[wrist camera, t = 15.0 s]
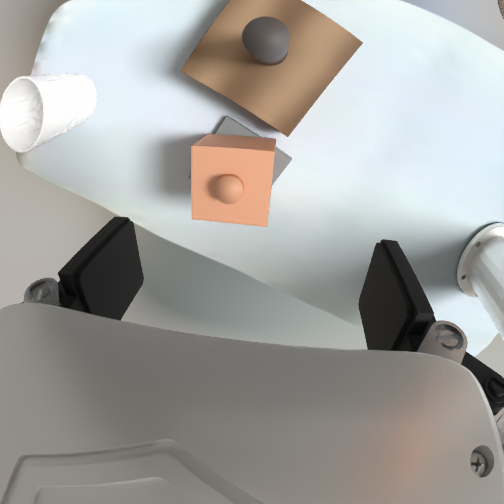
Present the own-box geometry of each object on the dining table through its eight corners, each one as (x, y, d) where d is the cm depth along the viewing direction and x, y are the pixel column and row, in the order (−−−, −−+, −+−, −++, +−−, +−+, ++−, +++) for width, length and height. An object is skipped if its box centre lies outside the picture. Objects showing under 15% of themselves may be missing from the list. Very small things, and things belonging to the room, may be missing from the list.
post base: (355, 46, 22) (393, 29, 13) (287, 132, 28) (289, 157, 19) (254, -16, 20) (239, -61, 10) (189, 72, 26) (143, 69, 16)
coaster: (291, 158, 30) (292, 159, 29) (249, 213, 34) (249, 215, 33) (227, 115, 28) (226, 116, 27) (190, 175, 32) (188, 177, 31)
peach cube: (269, 201, 32) (266, 231, 26) (206, 195, 32) (188, 224, 26) (276, 138, 28) (274, 154, 22) (207, 133, 29) (187, 148, 23)
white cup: (95, 60, 25) (38, 63, 16) (106, 120, 29) (51, 140, 20) (50, 82, 26) (-7, 95, 17) (60, 136, 30) (7, 161, 22)
